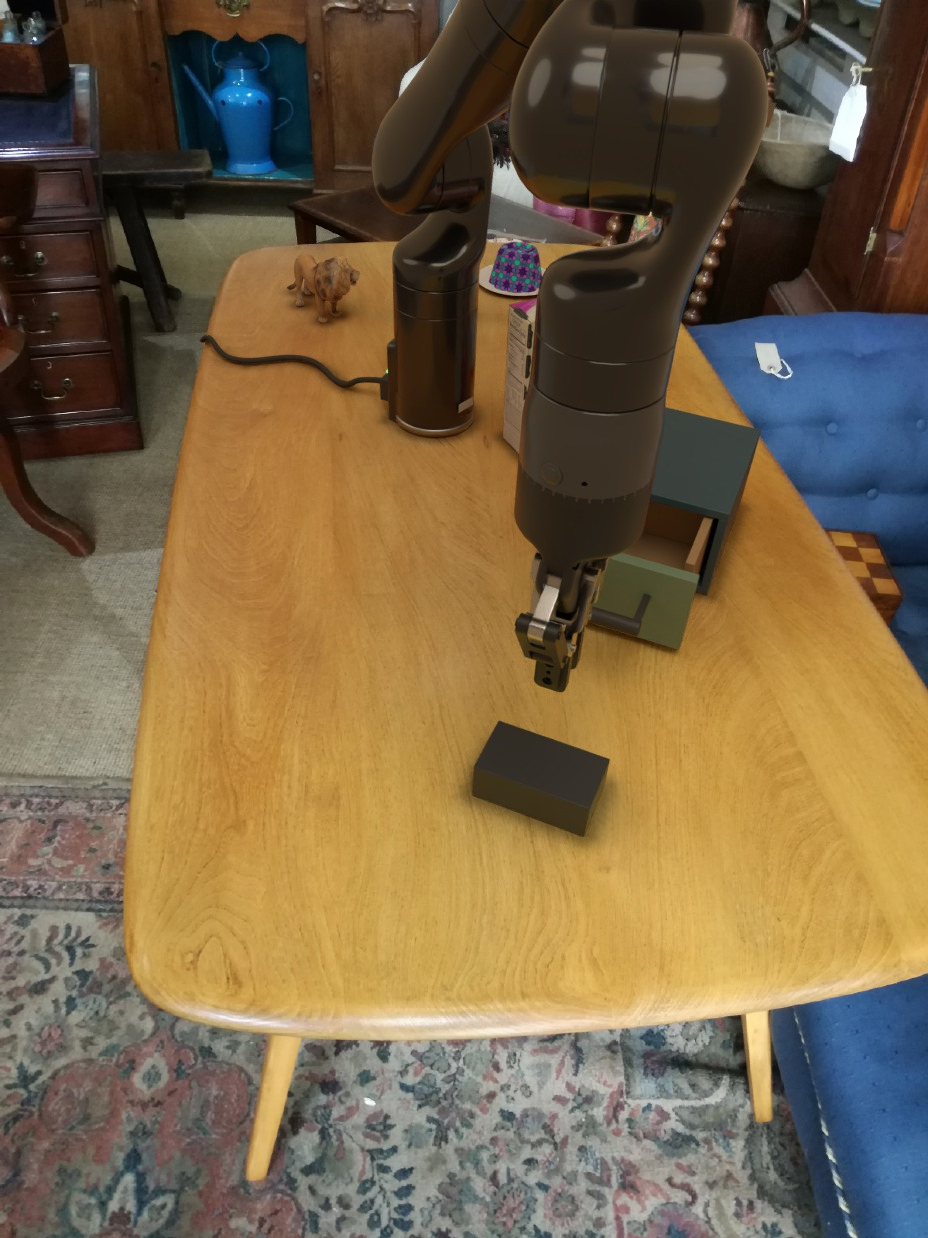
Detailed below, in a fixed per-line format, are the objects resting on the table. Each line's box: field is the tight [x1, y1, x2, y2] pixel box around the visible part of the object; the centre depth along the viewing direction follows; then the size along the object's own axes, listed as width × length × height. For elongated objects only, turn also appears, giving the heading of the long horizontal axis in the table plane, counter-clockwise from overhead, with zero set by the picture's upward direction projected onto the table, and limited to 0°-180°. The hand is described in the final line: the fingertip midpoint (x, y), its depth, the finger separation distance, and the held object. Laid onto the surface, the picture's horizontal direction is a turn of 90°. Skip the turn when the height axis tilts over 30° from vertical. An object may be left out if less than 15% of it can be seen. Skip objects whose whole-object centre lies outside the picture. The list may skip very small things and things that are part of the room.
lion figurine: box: [286, 252, 361, 324], centre depth 128 cm, size 15×5×9 cm, turn 44°
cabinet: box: [650, 406, 762, 596], centre depth 93 cm, size 16×14×10 cm
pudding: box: [479, 241, 547, 297], centre depth 138 cm, size 12×12×5 cm
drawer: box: [587, 501, 717, 651], centre depth 84 cm, size 19×12×8 cm, turn 157°
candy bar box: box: [502, 298, 537, 455], centre depth 103 cm, size 11×5×16 cm, turn 117°
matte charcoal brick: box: [471, 720, 611, 837], centre depth 70 cm, size 9×5×4 cm, turn 67°
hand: (556, 673), depth 63 cm, fingers closed
